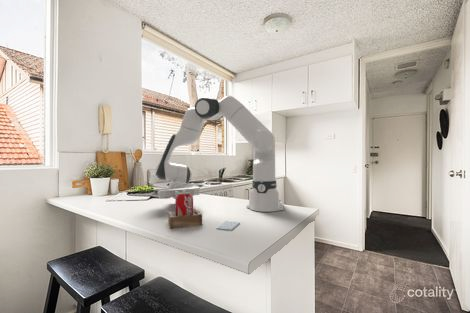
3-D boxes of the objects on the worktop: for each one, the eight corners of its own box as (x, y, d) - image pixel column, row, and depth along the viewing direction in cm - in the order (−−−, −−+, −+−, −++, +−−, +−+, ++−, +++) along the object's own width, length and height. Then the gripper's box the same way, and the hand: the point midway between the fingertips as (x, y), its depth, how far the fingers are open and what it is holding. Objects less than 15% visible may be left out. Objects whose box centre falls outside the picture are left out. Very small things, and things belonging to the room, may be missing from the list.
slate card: (225, 223, 90) (225, 221, 90) (239, 224, 88) (239, 222, 88) (216, 230, 82) (216, 227, 82) (231, 232, 80) (231, 229, 80)
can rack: (168, 221, 92) (168, 212, 92) (197, 218, 96) (197, 209, 96) (170, 228, 83) (170, 217, 83) (202, 224, 87) (202, 214, 87)
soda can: (181, 225, 86) (180, 194, 86) (172, 221, 92) (172, 192, 92) (196, 221, 91) (196, 192, 91) (187, 218, 96) (187, 190, 96)
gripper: (156, 185, 114) (157, 189, 101) (197, 183, 121) (202, 186, 108) (157, 198, 114) (157, 203, 101) (197, 194, 121) (202, 199, 108)
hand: (181, 194), depth 105 cm, fingers closed
